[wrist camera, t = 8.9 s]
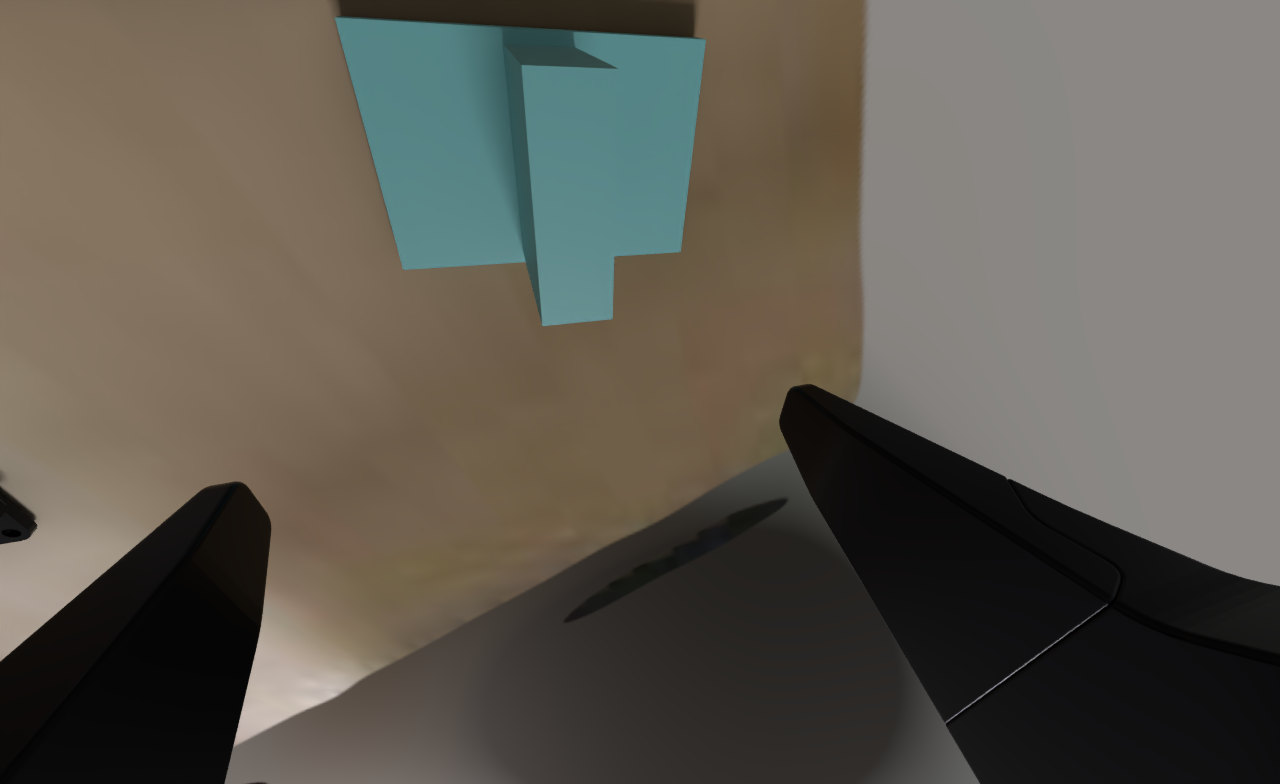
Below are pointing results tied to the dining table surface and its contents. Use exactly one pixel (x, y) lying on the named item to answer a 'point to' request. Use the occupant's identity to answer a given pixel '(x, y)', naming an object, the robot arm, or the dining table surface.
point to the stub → (528, 147)
